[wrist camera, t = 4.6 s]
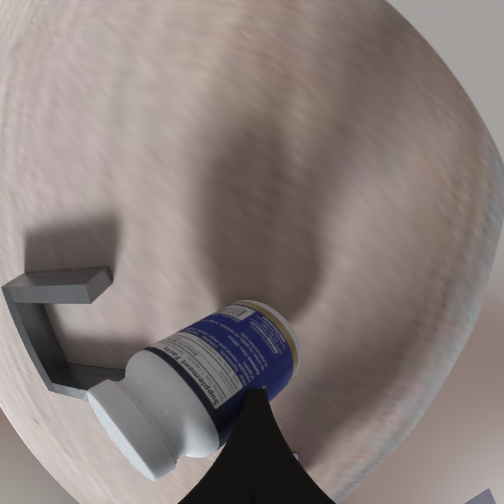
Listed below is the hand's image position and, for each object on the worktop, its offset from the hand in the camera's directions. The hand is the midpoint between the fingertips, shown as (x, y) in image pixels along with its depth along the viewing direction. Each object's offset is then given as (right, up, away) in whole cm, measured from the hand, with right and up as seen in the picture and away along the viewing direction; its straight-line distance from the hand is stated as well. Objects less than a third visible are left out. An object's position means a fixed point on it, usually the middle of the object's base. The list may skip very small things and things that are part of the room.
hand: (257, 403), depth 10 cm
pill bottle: (0, +1, +5) cm, 5 cm away
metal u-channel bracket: (-13, 0, +7) cm, 15 cm away
